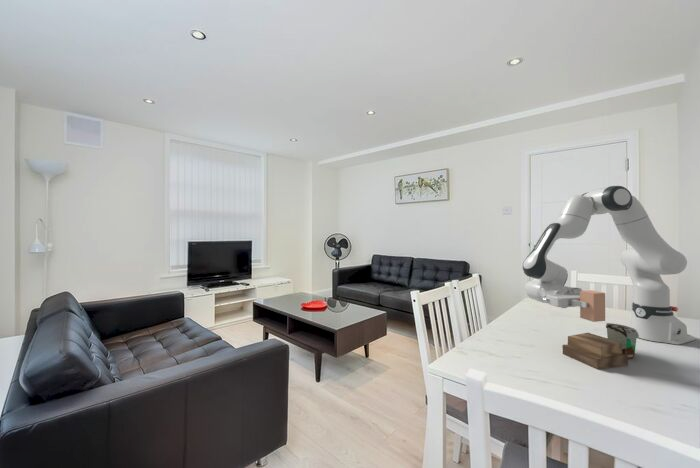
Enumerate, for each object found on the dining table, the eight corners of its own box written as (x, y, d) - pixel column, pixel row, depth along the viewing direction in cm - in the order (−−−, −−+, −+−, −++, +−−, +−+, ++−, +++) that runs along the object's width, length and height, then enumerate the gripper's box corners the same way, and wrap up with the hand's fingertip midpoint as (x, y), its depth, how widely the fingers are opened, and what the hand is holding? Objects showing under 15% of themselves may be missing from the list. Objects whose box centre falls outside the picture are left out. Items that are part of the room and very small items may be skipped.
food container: (648, 362, 104) (648, 334, 104) (628, 361, 105) (628, 333, 105) (623, 348, 116) (623, 323, 116) (605, 347, 118) (605, 322, 117)
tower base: (590, 352, 115) (590, 342, 115) (628, 367, 102) (627, 355, 102) (562, 355, 112) (562, 345, 112) (597, 371, 99) (597, 359, 99)
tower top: (587, 342, 114) (587, 332, 114) (621, 353, 104) (621, 342, 103) (567, 346, 110) (567, 336, 110) (601, 358, 100) (600, 346, 100)
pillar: (591, 316, 110) (591, 290, 110) (605, 320, 105) (605, 292, 105) (580, 317, 109) (580, 290, 109) (593, 321, 104) (593, 293, 104)
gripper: (538, 289, 118) (570, 297, 104) (581, 287, 121) (617, 294, 108) (538, 305, 118) (570, 315, 104) (581, 302, 121) (617, 311, 108)
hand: (594, 304), depth 106 cm, fingers closed on pillar, 5 cm apart
